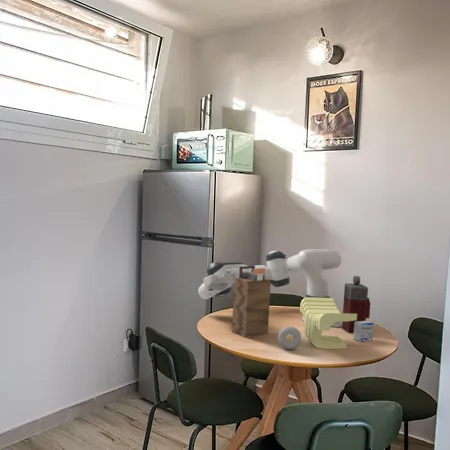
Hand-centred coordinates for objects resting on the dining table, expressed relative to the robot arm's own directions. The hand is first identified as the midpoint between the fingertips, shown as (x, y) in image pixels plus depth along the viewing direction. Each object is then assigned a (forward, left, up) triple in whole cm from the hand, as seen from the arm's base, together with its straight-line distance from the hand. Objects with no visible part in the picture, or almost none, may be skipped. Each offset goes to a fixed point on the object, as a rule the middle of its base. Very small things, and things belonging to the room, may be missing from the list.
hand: (232, 273), depth 224 cm
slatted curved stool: (-48, +4, -26) cm, 55 cm away
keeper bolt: (-9, +5, 0) cm, 10 cm away
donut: (-36, +21, -26) cm, 49 cm away
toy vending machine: (-58, -26, -26) cm, 69 cm away
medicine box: (-63, -12, -26) cm, 69 cm away
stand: (-13, +7, -26) cm, 30 cm away
